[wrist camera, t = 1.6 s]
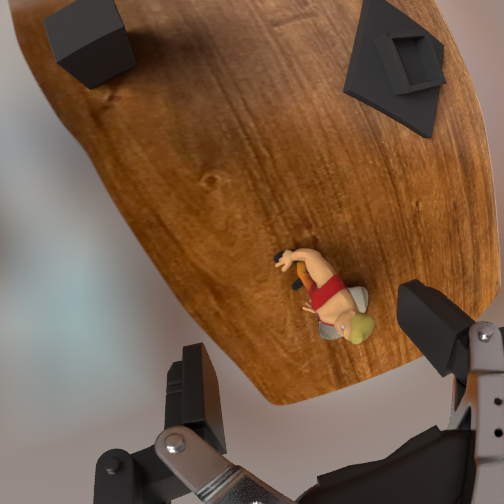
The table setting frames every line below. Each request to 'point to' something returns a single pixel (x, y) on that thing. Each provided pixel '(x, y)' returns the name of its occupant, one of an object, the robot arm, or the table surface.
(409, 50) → the socket pad
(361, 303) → the scallop shell
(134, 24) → the table surface
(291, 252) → the action figure
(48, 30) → the black rectangular block
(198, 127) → the table surface
